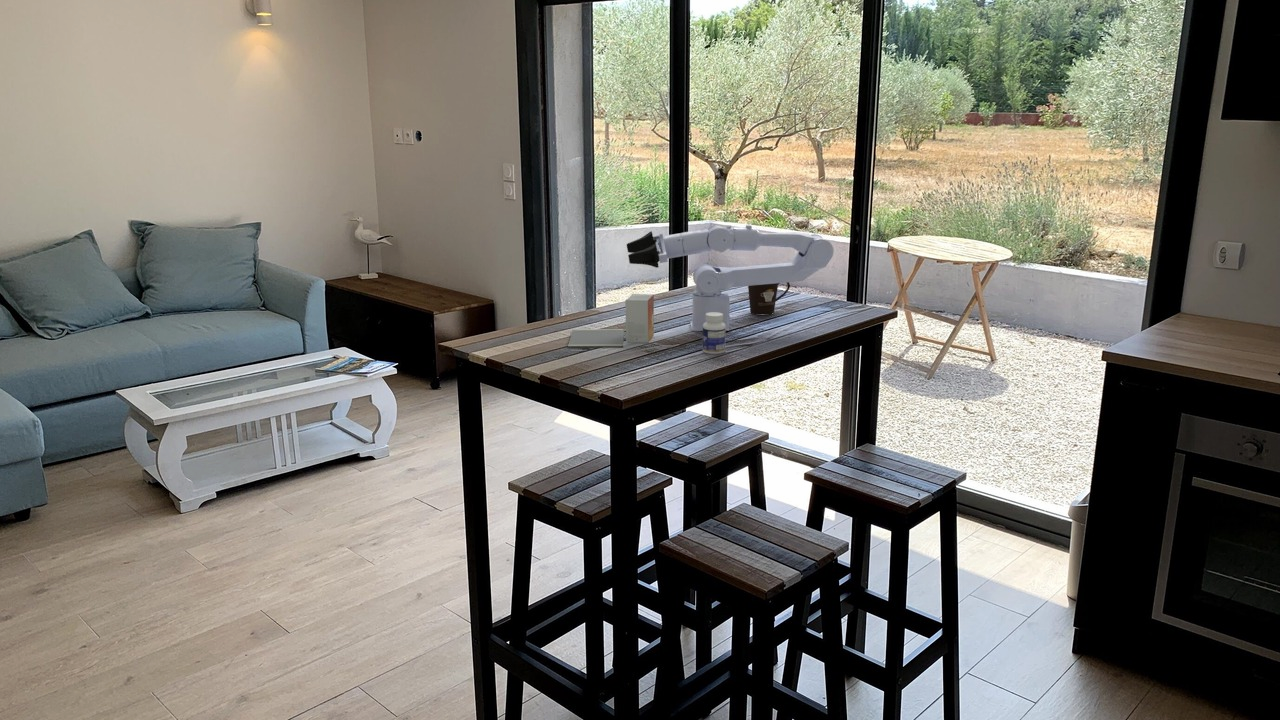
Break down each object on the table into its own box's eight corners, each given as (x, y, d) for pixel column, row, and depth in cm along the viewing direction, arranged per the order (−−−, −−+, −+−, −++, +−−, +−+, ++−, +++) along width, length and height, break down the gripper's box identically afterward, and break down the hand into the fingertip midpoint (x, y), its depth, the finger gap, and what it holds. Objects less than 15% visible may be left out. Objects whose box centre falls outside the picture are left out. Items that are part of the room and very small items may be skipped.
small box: (648, 343, 221) (648, 300, 218) (625, 342, 222) (624, 299, 219) (654, 335, 229) (654, 293, 226) (632, 334, 230) (632, 293, 227)
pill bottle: (702, 348, 216) (702, 311, 214) (724, 348, 216) (725, 311, 214) (702, 354, 211) (703, 316, 209) (725, 354, 211) (726, 316, 209)
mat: (624, 331, 233) (624, 329, 233) (623, 347, 218) (623, 345, 217) (572, 331, 233) (572, 329, 233) (568, 347, 218) (568, 345, 217)
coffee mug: (746, 315, 249) (747, 279, 246) (746, 309, 257) (747, 273, 254) (789, 316, 248) (791, 280, 245) (788, 309, 256) (790, 274, 253)
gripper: (676, 219, 235) (623, 228, 235) (682, 239, 222) (627, 249, 222) (680, 245, 238) (628, 254, 238) (686, 266, 225) (631, 275, 225)
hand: (627, 253), depth 230 cm, fingers open, 7 cm apart
